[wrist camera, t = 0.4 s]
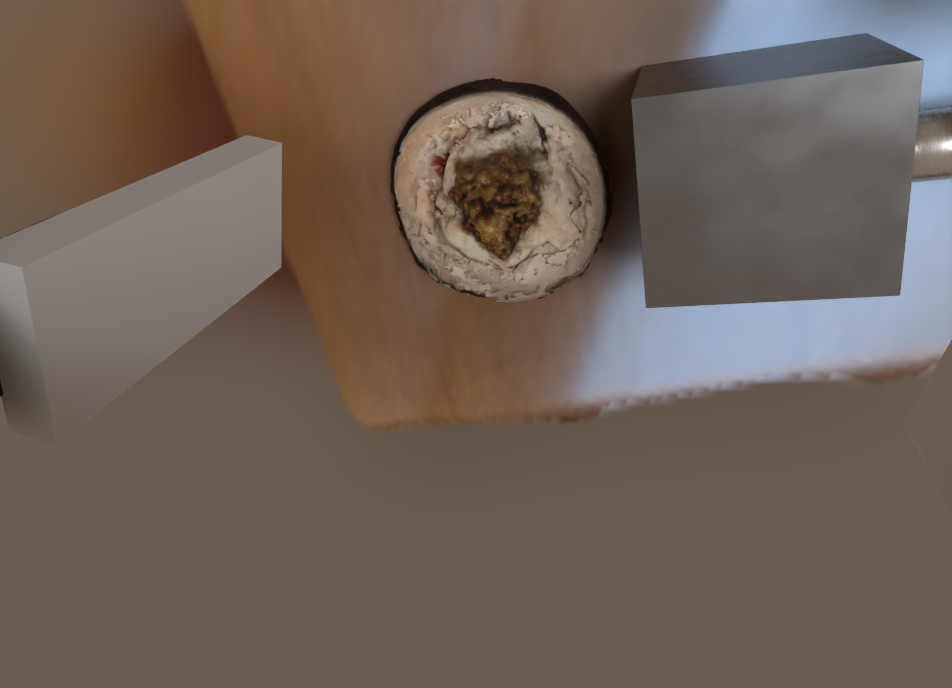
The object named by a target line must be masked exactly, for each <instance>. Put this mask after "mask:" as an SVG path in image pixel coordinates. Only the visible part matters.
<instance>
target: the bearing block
mask: <svg viewBox="0 0 952 688" xmlns="http://www.w3.org/2000/svg"><path fill="white" fill-rule="evenodd" d="M923 65H924V60H923V59H921V58H919V57H917V56H914V55H912V54H910V53H908V52H906V51H904V50H902V49H900V48H897V47H895V46H893V45H891V44H889V43H887V42H885V41H882V40H880V39H878V38H876V37H874V36H872V35H870V34H867V33H865V34H858V35H851V36H844V37H838V38H831V39H824V40H817V41H810V42H804V43H797V44H790V45H783V46H776V47H770V48H763V49H756V50H749V51H742V52H736V53H729V54H722V55H715V56H708V57H702V58H695V59H688V60H681V61H674V62H667V63H661V64H654V65H647V66H642V67H641V71H640V74H639V77H638V80H637V83H636V86H635V89H634V92H633V96H632V99H631V102H632V116H633V130H634V144H635V158H636V172H637V186H638V201H639V215H640V229H641V243H642V257H643V271H644V285H645V299H646V308H657V307H677V306H697V305H717V304H737V303H757V302H777V301H797V300H817V299H838V298H858V297H878V296H898V295H900V290H901V280H902V270H903V260H904V251H905V241H906V231H907V221H908V212H909V202H910V192H911V182H912V173H913V163H914V153H915V143H916V134H917V124H918V114H919V104H920V95H921V85H922V75H923Z"/></svg>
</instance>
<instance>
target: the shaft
mask: <svg viewBox="0 0 952 688" xmlns="http://www.w3.org/2000/svg"><path fill="white" fill-rule="evenodd" d="M943 179H952V107H947V108H938V109H929V110H921V111H919V114H918V124H917V134H916V143H915V153H914V163H913V173H912V182H921V181H932V180H943Z"/></svg>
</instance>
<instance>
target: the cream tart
mask: <svg viewBox="0 0 952 688" xmlns="http://www.w3.org/2000/svg"><path fill="white" fill-rule="evenodd" d="M498 149H499V150H498ZM613 173H614V171H609V169H608V166H607V164H606V161H605V159H604V157H603V154H602V152H601V149H600V147H599V145H598V142H597V140H596V139H595V137H594V135H593V133H592V132H591V130H590V128H589V127H588V125H587V124H586V122H585V121H584V119H583V118H582V117H581V116H580V114H579V113H578V112H577V111H576V110H575V109H574V108H573V107H572V106H571V105H570V104H569V103H568V102H567V101H566V100H565V99H564V98H563V97H562V96H561V95H559V94H558V93H556V92H554V91H552V90H550V89H548V88H545V87H542V86H538V85H534V84H527V83H514V82H505V81H502V80H501V79H494V78H491V79H484V80H477V81H474V82H470V83H466V84H462V85H460V86H457V87H454V88H452V89H449V90H447V91H445V92H443V93H441V94H439V95H438V96H436V97H435V98H433V99H432V100H430V101H429V102H428V103H426V104H425V105H424V106H422V107H421V108H420V109H419V110H417V111H416V112H415V113H414V114H413V116H412V117H411V118H410V119H409V121H408V122H407V124H406V126H405V127H404V129H403V131H402V133H401V135H400V137H399V139H398V141H397V143H396V145H395V149H394V154H393V159H392V166H391V178H392V181H391V193H392V194H393V196H394V205H395V212H396V214H397V216H398V219H399V222H400V227H399V229H400V231H401V232H402V234H403V235H401V236H402V237H404V239H403V240H404V241H405V243H407V244H408V245H409V248H410V250H411V252H412V254H413V257H414V259H415V261H416V263H417V265H418V266H419V267H420V268H422V269H423V270H425V271H426V272H427V273H429V276H430V277H431V278H432V279H433V280H436V282H437V283H440V284H442V285H443V286H445V287H447V288H448V289H449V290H450V289H451V288H453V289H455V290H456V291H460V292H461V293H464V292H465V293H467V296H470V295H469V294H471V295H474V296H478V297H483V298H484V297H488V296H489V297H491V300H495V302H501V301H502V302H503V301H504V302H506V301H507V302H508V303H509V302H519V301H521V300H522V301H525V300H531V299H534V298H539V299H540V298H543V297H545V296H549V294H551V293H553V292H554V291H556V290H558V289H559V288H561V287H562V286H564V285H566V284H569V283H570V282H571V280H570V278H571V277H574V278H575V279H577V278H576V277H580V276H582V275H583V273H584V272H585V270H586V269H587V268H588V266H589V264H590V261H591V258H592V256H593V255H594V254H595V253H596V252H597V245H598V244H599V243H601V242H602V241H603V233H604V231H605V229H606V227H607V225H608V222H609V219H610V215H611V208H612V202H613V194H614V190H615V188H614V185H613V182H612V174H613ZM422 269H421V271H420V272H422ZM575 279H573V280H575ZM477 299H478V300H479V298H477Z"/></svg>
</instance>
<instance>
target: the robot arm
mask: <svg viewBox="0 0 952 688" xmlns="http://www.w3.org/2000/svg"><path fill="white" fill-rule="evenodd" d="M281 224H282V143H280V142H276V141H271V140H267V139H262V138H258V137H254V136H249V135H246V136H243V137H241V138H239V139H236V140H234V141H232V142H229V143H227V144H224V145H222V146H220V147H217V148H215V149H213V150H210V151H208V152H206V153H203V154H201V155H199V156H196V157H194V158H191V159H189V160H187V161H184V162H182V163H180V164H177V165H175V166H173V167H170V168H168V169H165V170H163V171H161V172H158V173H156V174H153V175H151V176H149V177H147V178H144V179H142V180H139V181H137V182H134V183H132V184H130V185H127V186H125V187H123V188H120V189H118V190H116V191H113V192H111V193H108V194H106V195H104V196H101V197H99V198H97V199H94V200H92V201H90V202H87V203H85V204H83V205H80V206H78V207H75V208H73V209H71V210H68V211H66V212H63V213H61V214H59V215H55V216H53V217H50V218H48V219H45V220H43V221H41V222H38V223H36V224H34V225H32V226H29V227H28V228H26V229H22V230H19V231H17V232H15V233H12V234H10V235H8V236H7V237H4V238H1V239H0V396H2V401H3V405H4V409H5V413H6V417H7V422H8V426H9V430H10V431H14V432H17V433H20V434H23V435H27V436H30V437H33V438H37V439H40V440H43V441H47V442H50V443H53V444H56V445H57V444H58V443H60V442H61V441H62V440H63V439H65V438H66V437H67V436H68V435H70V434H71V433H72V432H73V431H75V430H76V429H77V428H79V427H80V426H81V425H82V424H84V423H85V422H86V421H87V420H89V419H90V418H91V417H93V416H94V415H95V414H96V413H98V412H99V411H100V410H101V409H103V408H104V407H105V406H106V405H108V404H109V403H110V402H111V401H112V400H114V399H115V398H117V397H118V396H119V395H120V394H122V393H123V392H124V391H125V390H127V389H128V388H129V387H130V386H132V385H133V384H134V383H135V382H137V381H138V380H139V379H141V378H142V377H143V376H144V375H146V374H147V373H148V372H149V371H151V370H152V369H153V368H155V367H156V366H157V365H158V364H160V363H161V362H162V361H163V360H165V359H166V358H167V357H168V356H169V355H171V354H172V353H173V352H175V351H176V350H177V349H179V348H180V347H181V346H182V345H184V344H185V343H186V342H187V341H189V340H190V339H191V338H193V337H194V336H195V335H196V334H198V333H199V332H200V331H201V330H203V329H204V328H205V327H206V326H208V325H209V324H210V323H212V322H213V321H214V320H215V319H217V318H218V317H219V316H220V315H222V314H223V313H224V312H225V311H227V310H228V309H229V308H230V307H232V306H233V305H234V304H235V303H237V302H238V301H239V300H241V299H242V298H243V297H244V296H246V295H247V294H248V293H249V292H251V291H252V290H253V289H255V288H256V287H257V286H258V285H259V284H261V283H262V282H263V281H265V280H266V279H267V278H268V277H270V276H271V275H272V274H274V273H275V272H276V271H277V270H279V269H280V268H281ZM905 425H906V427H907V430H908V432H909V434H910V436H911V438H912V440H913V442H914V444H915V447H916V449H917V451H918V453H919V455H920V457H921V459H922V461H923V463H924V465H925V467H926V470H927V472H928V474H929V476H930V478H931V480H932V482H933V484H934V486H935V489H936V491H937V493H938V495H939V497H940V499H941V501H942V503H943V506H944V508H945V510H946V512H947V514H948V516H949V518H950V520H951V522H952V340H951V342H950V344H949V346H948V348H947V349H946V351H945V353H944V355H943V356H942V358H941V360H940V362H939V363H938V365H937V367H936V369H935V371H934V372H933V374H932V376H931V378H930V379H929V381H928V383H927V385H926V387H925V388H924V390H923V392H922V394H921V396H920V397H919V399H918V401H917V402H916V404H915V406H914V408H913V409H912V411H911V413H910V415H909V417H908V418H907V420H906V422H905Z"/></svg>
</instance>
